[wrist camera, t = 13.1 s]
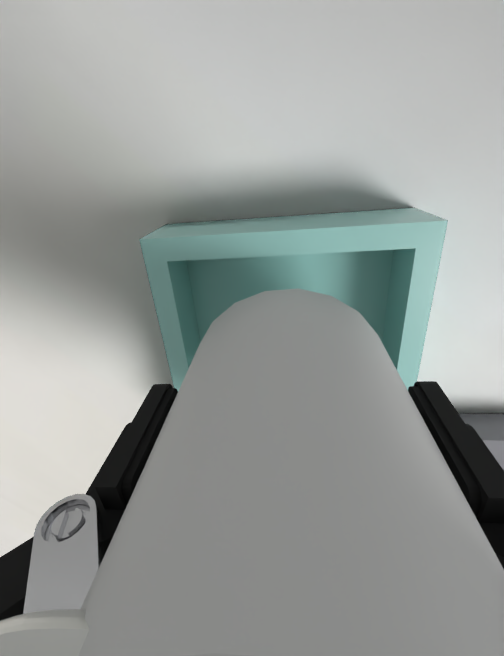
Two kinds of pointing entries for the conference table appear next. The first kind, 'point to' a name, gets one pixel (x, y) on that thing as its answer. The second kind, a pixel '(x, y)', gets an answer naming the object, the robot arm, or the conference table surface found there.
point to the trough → (298, 273)
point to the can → (295, 507)
